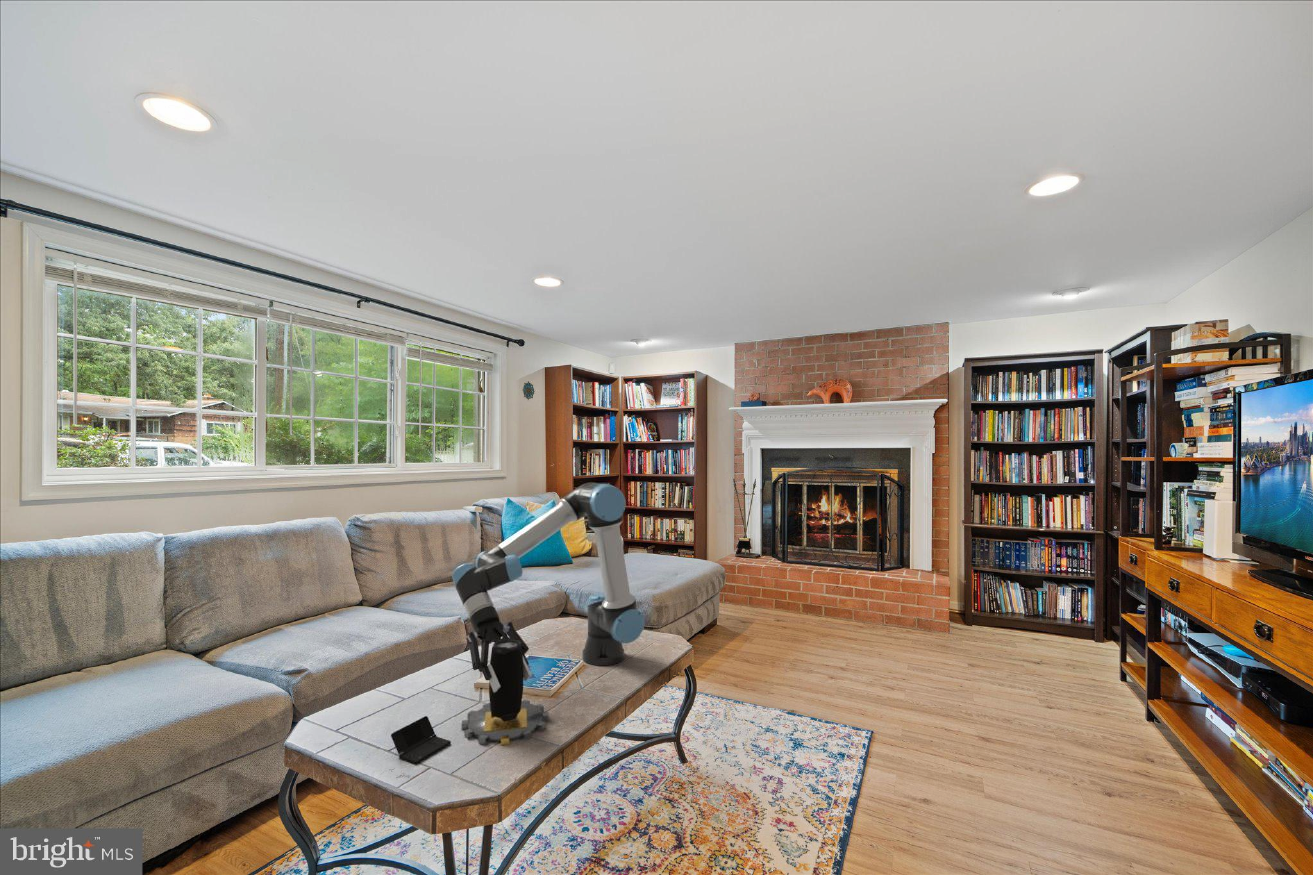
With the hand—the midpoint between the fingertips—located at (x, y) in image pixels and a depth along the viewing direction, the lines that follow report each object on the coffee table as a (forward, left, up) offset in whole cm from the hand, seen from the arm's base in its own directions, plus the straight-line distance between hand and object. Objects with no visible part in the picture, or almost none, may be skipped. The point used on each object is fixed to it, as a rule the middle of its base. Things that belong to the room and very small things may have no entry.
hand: (513, 683), depth 153 cm
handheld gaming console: (+21, -8, -13) cm, 26 cm away
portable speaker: (0, -3, -10) cm, 10 cm away
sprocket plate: (-1, -4, -12) cm, 13 cm away
